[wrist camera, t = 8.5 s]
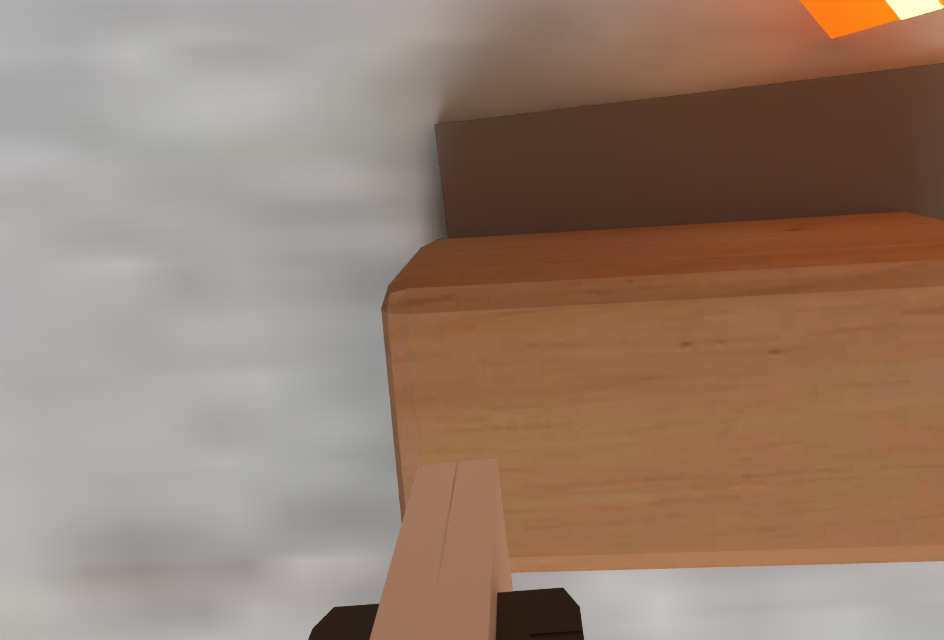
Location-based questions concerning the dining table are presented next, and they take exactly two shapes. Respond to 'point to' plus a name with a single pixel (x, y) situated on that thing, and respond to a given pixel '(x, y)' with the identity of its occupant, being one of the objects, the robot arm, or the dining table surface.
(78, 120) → the dining table surface
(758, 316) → the wooden block
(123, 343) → the dining table surface
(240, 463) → the dining table surface
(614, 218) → the mat
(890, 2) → the orange juice
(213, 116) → the dining table surface
